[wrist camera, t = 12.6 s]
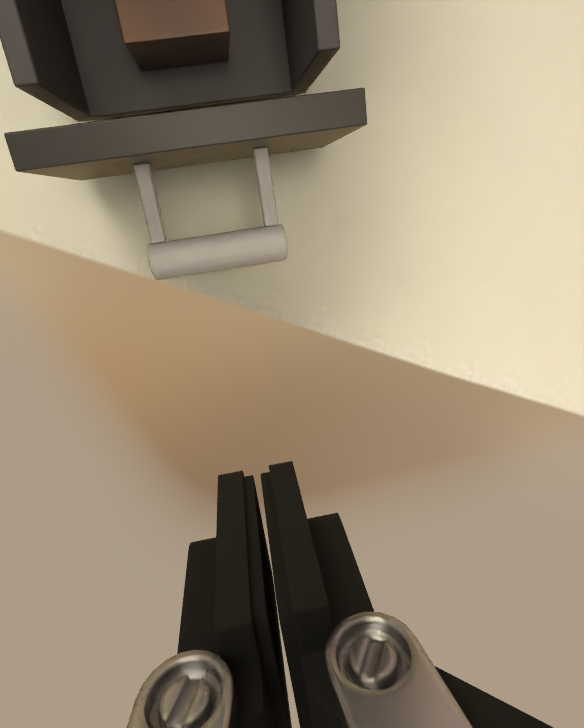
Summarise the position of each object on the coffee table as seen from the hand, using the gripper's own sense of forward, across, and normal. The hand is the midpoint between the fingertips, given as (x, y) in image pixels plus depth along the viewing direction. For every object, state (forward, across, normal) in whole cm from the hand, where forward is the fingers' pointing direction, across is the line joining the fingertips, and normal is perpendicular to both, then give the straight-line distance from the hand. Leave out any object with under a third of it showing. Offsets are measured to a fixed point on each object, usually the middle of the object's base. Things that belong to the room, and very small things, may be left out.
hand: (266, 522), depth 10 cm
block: (+16, 0, -15) cm, 22 cm away
